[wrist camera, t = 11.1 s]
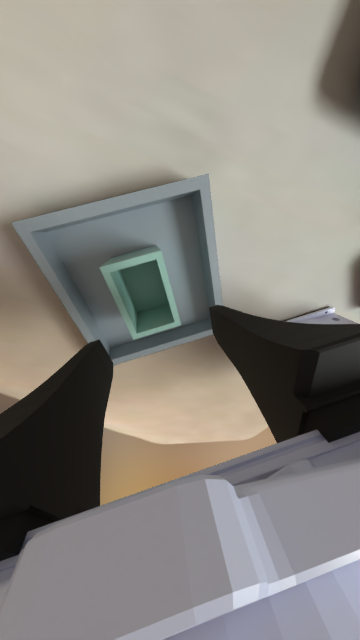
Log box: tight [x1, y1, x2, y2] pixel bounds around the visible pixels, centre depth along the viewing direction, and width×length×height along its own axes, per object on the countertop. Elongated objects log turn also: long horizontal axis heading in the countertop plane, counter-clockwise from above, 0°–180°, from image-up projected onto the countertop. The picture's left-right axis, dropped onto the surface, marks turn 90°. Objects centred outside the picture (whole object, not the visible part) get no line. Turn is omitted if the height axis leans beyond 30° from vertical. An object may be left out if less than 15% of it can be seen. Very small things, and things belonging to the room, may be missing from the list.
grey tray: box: [11, 174, 223, 365], centre depth 17 cm, size 15×15×3 cm
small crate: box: [99, 245, 181, 340], centre depth 16 cm, size 4×6×5 cm
